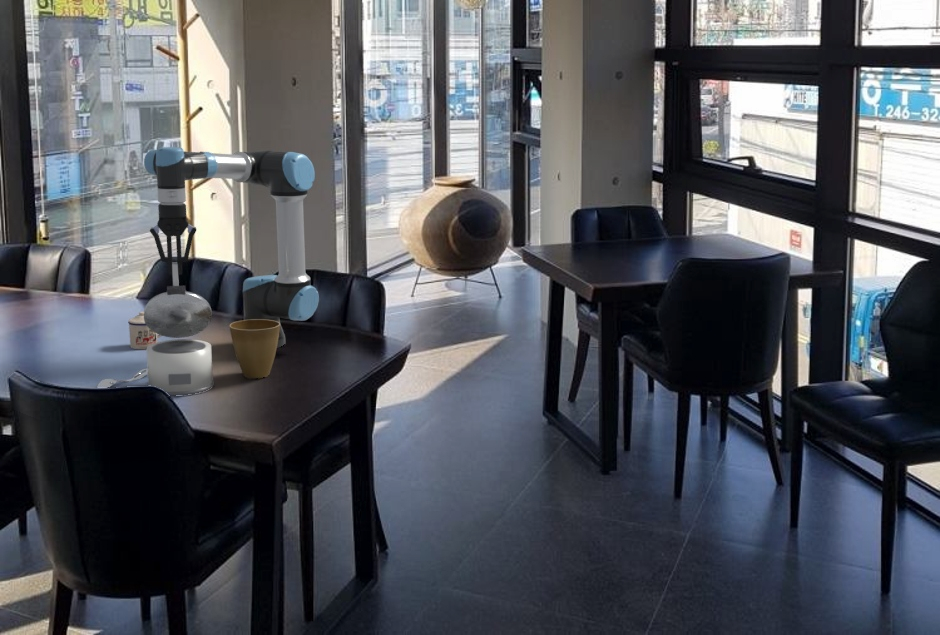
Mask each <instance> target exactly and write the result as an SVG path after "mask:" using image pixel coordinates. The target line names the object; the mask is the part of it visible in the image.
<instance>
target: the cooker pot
mask: <svg viewBox="0 0 940 635" xmlns="http://www.w3.org/2000/svg"><path fill="white" fill-rule="evenodd" d="M212 356H213V355H212V345H211V342H210V343H209V342H207V341H204V340H201V339H191V338H189V339H188V338H187V339H181V338H178V339H170V340H162V341H157V343H154V344H151V345H149V346H148V347H147V349H146V358H147V359H146V360H147V369H148V374H147V379H148V380H147V381H148V383H147V386H148V385H151V386H156V387H158V388H161V389H163V390H164V391H165V392H167V393H168V394H169V395H170V396H169V397H171V396H176V395H188V394H195V393H199V392H203V391H206V390H208V389H210V388H211V387H213V385H215V383H214V382H215V381H214V379H213V361H212V360H213V357H212ZM213 388H214V387H213ZM206 392H207V391H206Z"/></svg>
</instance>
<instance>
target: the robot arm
mask: <svg viewBox="0 0 940 635" xmlns="http://www.w3.org/2000/svg"><path fill="white" fill-rule="evenodd" d="M143 166H144V170H146V172H147V173H148V174H150V175H152V176H156V185H157V188H156V189H157V202H159V204H158V206H157V207H158V221H157V224H156V225H154V226H153V227H150V229H149V233H150V234H151V235H152V236H153V239H154V242H155V244H156V249H157V252H158V255H159V258H160V261H161V262H163V263H166V264H167V270H168V272H167V274H168V275H169V276H170V275H171V276H172V286H180V285H179V283H180V282H179V275H181V276H182V275H183V263H185V262H188V261H189V256H190V252H191V246H192V242H193V238H194V236H195V234H196V232H197V226H193V225H191V224H189V220H188V218H187V205H186V204H185V202H186V201H187V197H186V196H187V195H186V194H187V193H186V181H189V180H202V179H203V180H205V179H225V180H226V179H228V180H229V179H231V180H233V181H234V182H236V183H245V184H250V185H254V186H259V187H264V188H270V189H269V190H270V197H272V199H274V200H275V215H276V216H275V217H276V238H277V240H276V241H277V242H276V243H277V260H278V264H277V266H278V275H277V274H266V275H265V274H264V275H257V276H252V277H248V278H246V279H244V281H243V283H242V284H243V285H242V298H243V299H242V300H243V301H242V304H243V320H251V319H265V320H273V321H277V322H279V323H280V330H279V338H278V344H277V349H278V348H281V346H282V347H283V345H284V344H285V345H286V334H285V333H284V332H285V331H284V329H283V327H282V325H281V320H280V318H281V319H287V320H291V321H293V322H294V321H300V322H301V321H302V322H303V321H307V320H308V319H310V318H312V316H313V315H314V314H315V312H316V311H317V309H318V306H319V302H320V297H319V292H318V290H317V288H316V287H314V286H313V285H311V283H312V282H311V277H310V275H308V274H307V273H306V250H305V246H306V245H305V223H304V221H305V220H304V218H305V217H304V199H305V198H306V197H307V195H308V193H309V192H308V190H310V189H311V188H312V187H313V183H314V181H315V178H316V177H315V174H316V173H315V167H314V164H313V162H312V161H311V160H310V159H309V157H308V156H307V155H305V154H303V153H301V152H300V153H299V152H294V151H282V150H281V151H278V150H277V151H276V150H254V151H237V152H235V153H233V154H231V153H215V152H214V153H212V152H210V151H197V152H196V151H184V148H183V147H180V146H179V147H177V146H163V147H158V148H157V149H150V150H148V151H147V153H146V154H145V156H144V161H143ZM159 229H160V230H159ZM186 230H187V232H188V236H187V240H186V245H185V249H184V253H183V254H184V255H183V254H182V241H181V240H182V238H181V237H182V236H183V234H184V232H185V231H186ZM160 231H161V232H162V234H163V235H165V236H166V252H167V256H166V255H165V251H164V248H163V245H162V242H161V239H160V234H159V233H160ZM172 237H175V242H176V262H173V247H172V246H173V245H172V243H173V242H172ZM285 345H284V346H285Z"/></svg>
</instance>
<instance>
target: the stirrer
mask: <svg viewBox="0 0 940 635" xmlns="http://www.w3.org/2000/svg"><path fill="white" fill-rule="evenodd" d="M145 376H148V368H143V369H141V370H139V371H138V372H137V373H135V374H134V376H132V377H130V378H129V379H125V380H124V379H123V380H122V379H121V380H118V379H114V378H106V379H102V380H101V381H100V382H99V383H98V385H97V387H109V388H111V387H112V386H114V385H115V384H116V383H118V382H122V383H123V382H124V383H125V382H126V383H129V382H132V381H135V380H140V379H142V378H144V377H145ZM128 381H129V382H128ZM97 387H96V388H97Z"/></svg>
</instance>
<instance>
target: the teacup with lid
mask: <svg viewBox="0 0 940 635" xmlns="http://www.w3.org/2000/svg"><path fill="white" fill-rule="evenodd" d="M128 326H129V327H128V329H129V344H130V345H129V346H130V348H131V349H134V350H140V351H141V350H147V347H148V346H149V345H151V344H154V343H157V342H158V339H160V338H162V337H163V336H162V335H159V334H157V333H155V332H153V331H152V330H151V329H149V327H148V326H147V325H146V323H145V321H144V311H139V312H138V314H137V315H136V316H134V317H132V318H130V319H129V320H128Z"/></svg>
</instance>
